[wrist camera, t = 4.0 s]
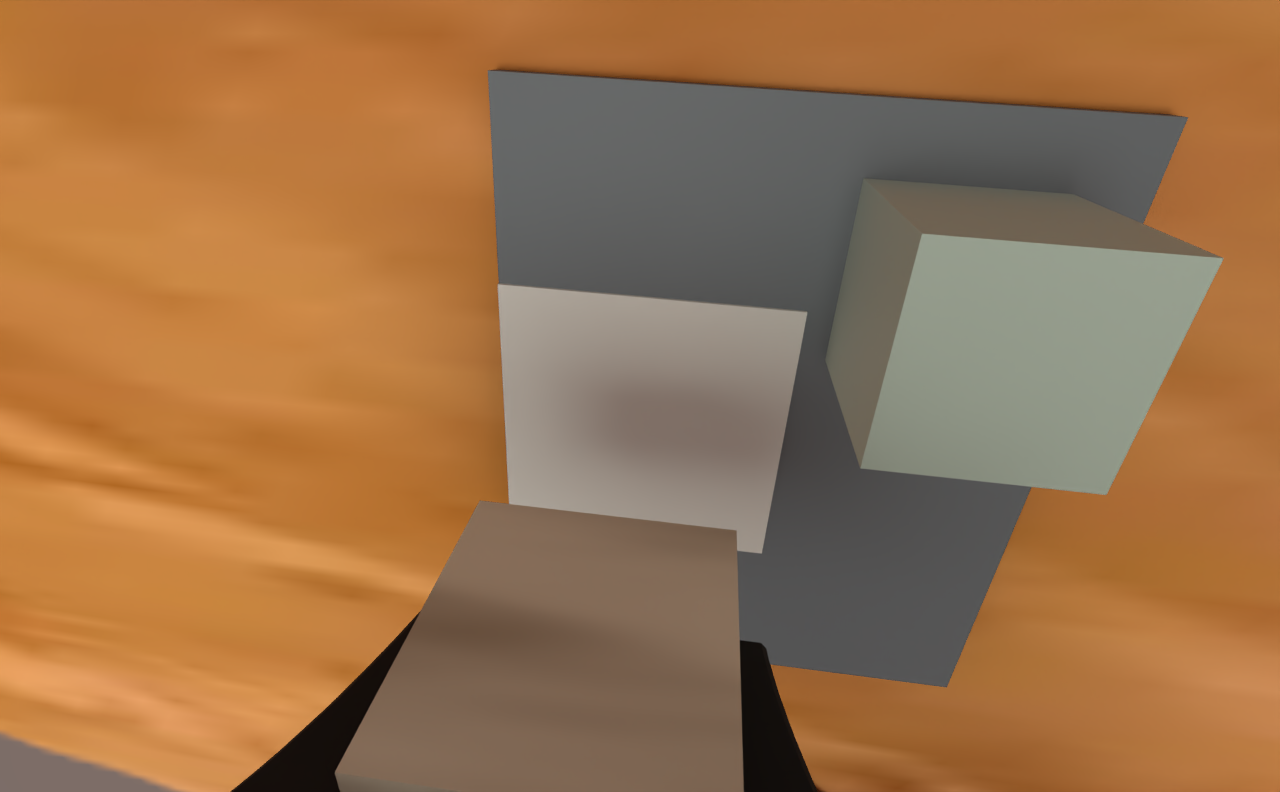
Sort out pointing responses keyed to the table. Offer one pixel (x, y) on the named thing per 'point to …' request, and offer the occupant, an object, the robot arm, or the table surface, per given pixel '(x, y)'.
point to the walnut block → (564, 663)
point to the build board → (756, 333)
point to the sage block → (1005, 332)
